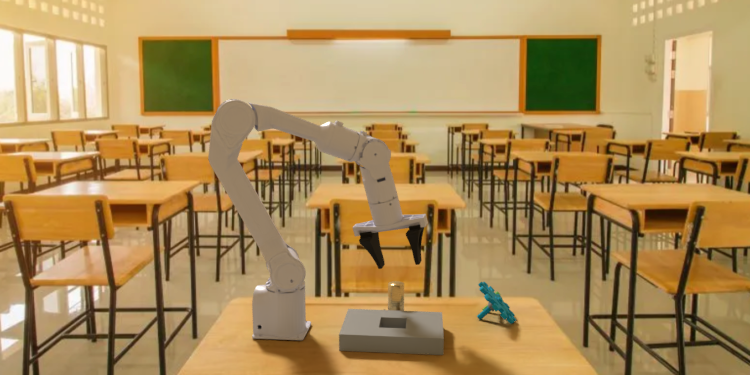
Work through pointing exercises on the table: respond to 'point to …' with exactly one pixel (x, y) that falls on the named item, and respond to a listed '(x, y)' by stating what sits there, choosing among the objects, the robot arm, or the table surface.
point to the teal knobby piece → (495, 303)
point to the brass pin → (396, 296)
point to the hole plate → (392, 332)
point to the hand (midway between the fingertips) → (400, 264)
